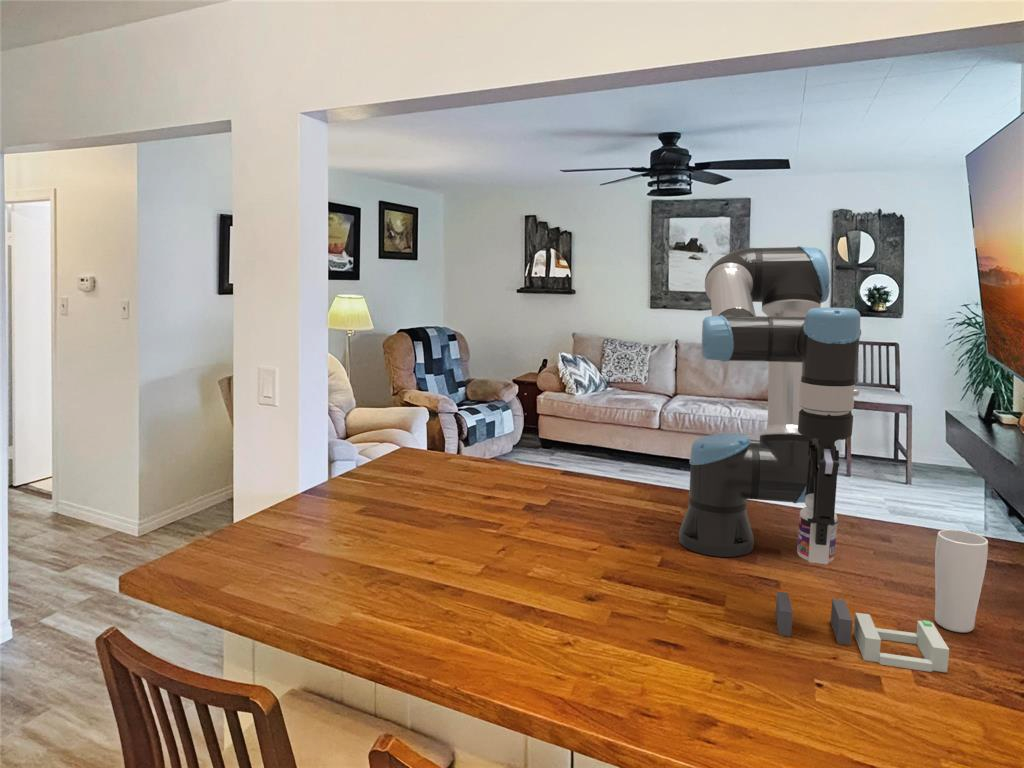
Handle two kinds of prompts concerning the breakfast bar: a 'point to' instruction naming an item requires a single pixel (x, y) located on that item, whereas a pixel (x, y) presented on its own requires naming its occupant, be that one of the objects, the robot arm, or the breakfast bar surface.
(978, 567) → the drinking glass
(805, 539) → the pill bottle
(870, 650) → the port
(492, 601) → the breakfast bar surface
